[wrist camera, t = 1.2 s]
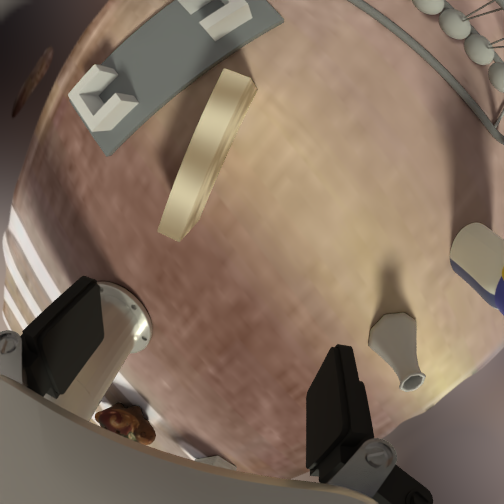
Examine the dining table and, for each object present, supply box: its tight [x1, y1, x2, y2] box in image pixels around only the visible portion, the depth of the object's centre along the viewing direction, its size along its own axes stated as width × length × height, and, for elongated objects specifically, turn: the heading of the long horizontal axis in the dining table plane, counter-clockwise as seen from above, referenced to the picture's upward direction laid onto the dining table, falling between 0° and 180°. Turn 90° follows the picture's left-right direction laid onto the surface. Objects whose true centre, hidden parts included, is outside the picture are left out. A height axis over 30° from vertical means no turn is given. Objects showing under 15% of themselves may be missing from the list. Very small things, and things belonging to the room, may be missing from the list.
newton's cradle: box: [347, 0, 504, 145], centre depth 13 cm, size 30×10×18 cm, turn 56°
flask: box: [368, 312, 426, 392], centre depth 32 cm, size 7×7×10 cm
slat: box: [157, 68, 258, 242], centre depth 27 cm, size 16×2×7 cm, turn 155°
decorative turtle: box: [95, 403, 156, 445], centre depth 47 cm, size 10×15×8 cm, turn 104°
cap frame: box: [68, 0, 284, 157], centre depth 24 cm, size 25×10×5 cm, turn 125°
